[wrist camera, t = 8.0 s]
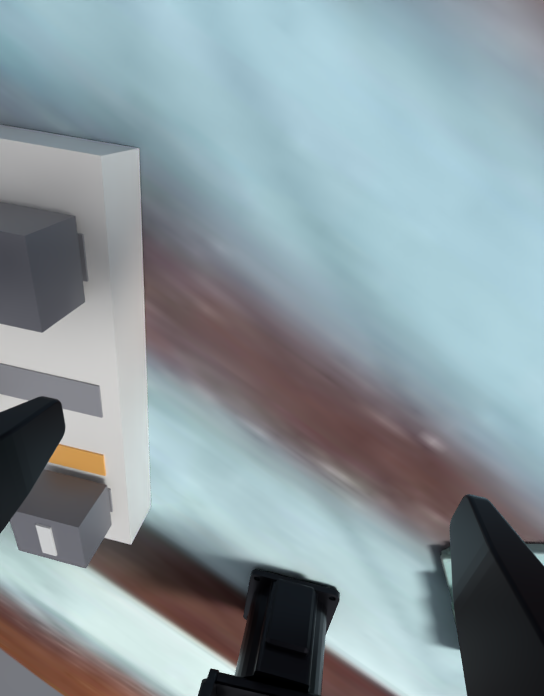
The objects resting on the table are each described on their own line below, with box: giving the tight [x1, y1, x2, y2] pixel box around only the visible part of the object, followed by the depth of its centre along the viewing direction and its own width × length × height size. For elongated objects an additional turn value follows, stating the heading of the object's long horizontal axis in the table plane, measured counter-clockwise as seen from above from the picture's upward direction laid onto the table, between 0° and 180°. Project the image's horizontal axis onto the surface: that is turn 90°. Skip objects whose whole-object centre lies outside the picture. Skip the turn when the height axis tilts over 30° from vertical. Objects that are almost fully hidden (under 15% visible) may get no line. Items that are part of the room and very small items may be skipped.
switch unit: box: [0, 125, 151, 545], centre depth 23 cm, size 23×14×3 cm, turn 172°
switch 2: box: [10, 469, 112, 568], centre depth 24 cm, size 4×4×3 cm
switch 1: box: [0, 202, 85, 333], centre depth 16 cm, size 4×4×3 cm
